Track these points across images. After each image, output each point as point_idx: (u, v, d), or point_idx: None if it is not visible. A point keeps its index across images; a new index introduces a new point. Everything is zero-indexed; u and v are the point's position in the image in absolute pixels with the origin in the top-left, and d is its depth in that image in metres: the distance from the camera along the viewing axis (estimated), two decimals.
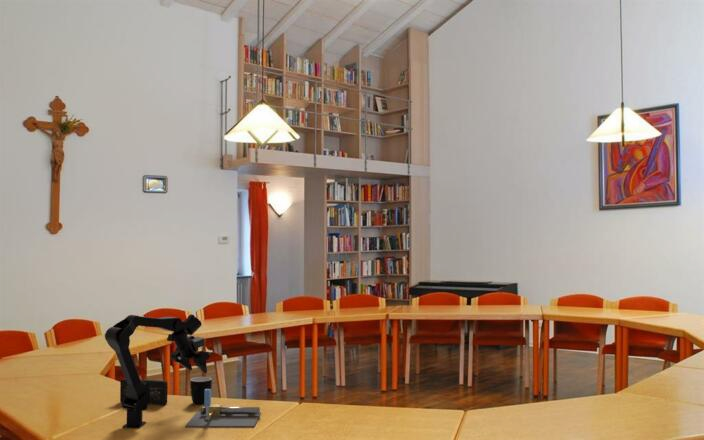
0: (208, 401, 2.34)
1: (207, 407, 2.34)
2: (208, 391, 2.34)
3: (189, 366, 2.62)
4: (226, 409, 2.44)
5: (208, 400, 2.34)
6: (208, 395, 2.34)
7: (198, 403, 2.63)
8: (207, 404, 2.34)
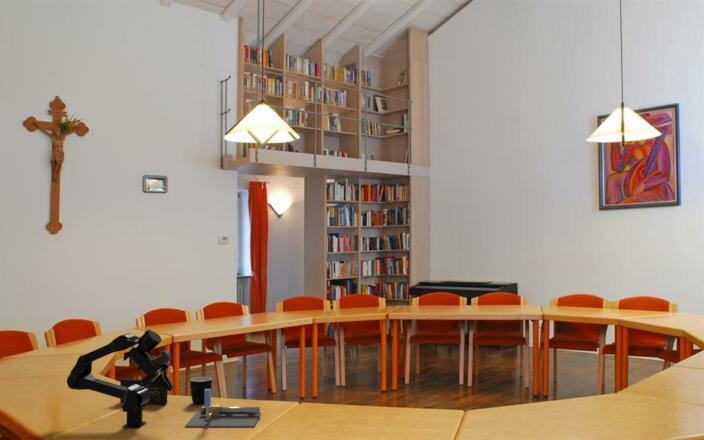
0: (208, 401, 2.34)
1: (207, 407, 2.34)
2: (208, 391, 2.34)
3: None
4: (226, 409, 2.44)
5: (208, 400, 2.34)
6: (208, 395, 2.34)
7: (198, 403, 2.63)
8: (207, 404, 2.34)
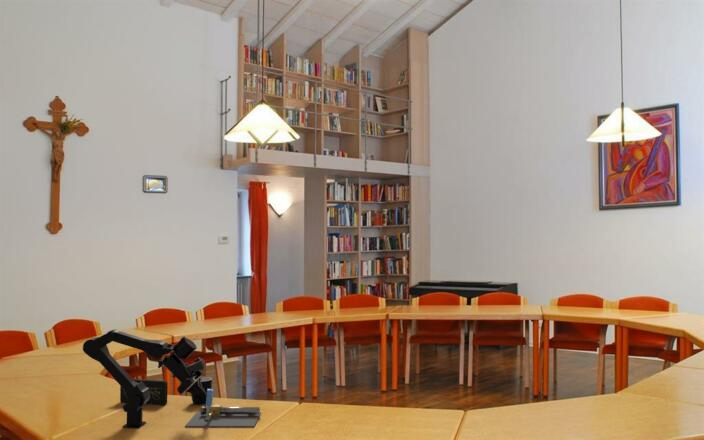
0: (210, 401, 2.34)
1: (208, 407, 2.34)
2: (211, 391, 2.34)
3: None
4: (226, 409, 2.44)
5: (210, 400, 2.34)
6: (210, 395, 2.34)
7: (198, 403, 2.63)
8: (208, 404, 2.34)
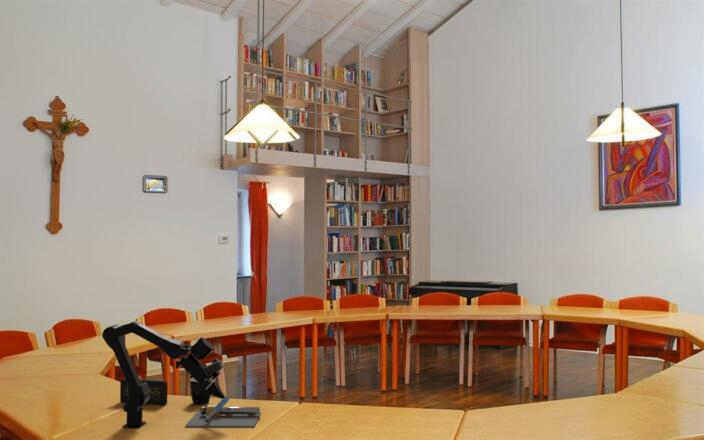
0: (220, 407, 2.34)
1: (215, 410, 2.34)
2: (227, 400, 2.34)
3: None
4: (226, 409, 2.44)
5: (221, 406, 2.34)
6: (224, 403, 2.34)
7: (198, 403, 2.63)
8: (217, 408, 2.34)
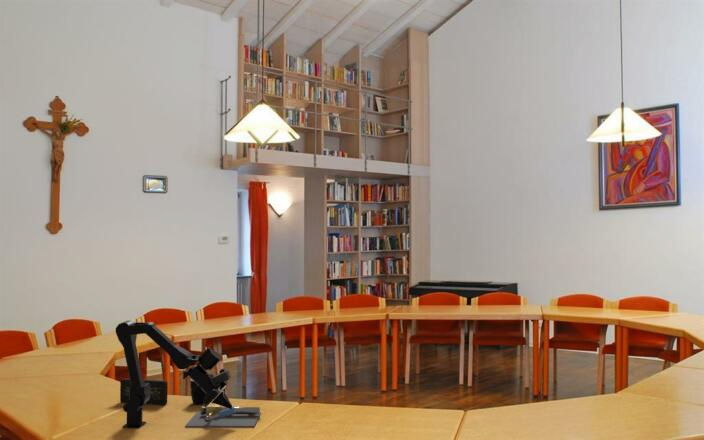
0: (224, 415, 2.33)
1: (218, 415, 2.34)
2: (233, 411, 2.34)
3: None
4: None
5: (225, 414, 2.33)
6: (230, 413, 2.33)
7: (198, 403, 2.63)
8: (221, 415, 2.33)
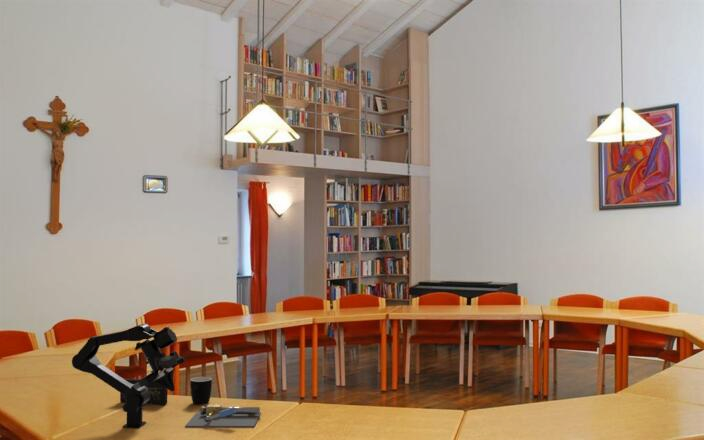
0: (224, 415, 2.33)
1: (218, 415, 2.34)
2: (233, 411, 2.34)
3: None
4: None
5: (225, 414, 2.33)
6: (230, 413, 2.33)
7: (198, 403, 2.63)
8: (221, 415, 2.33)
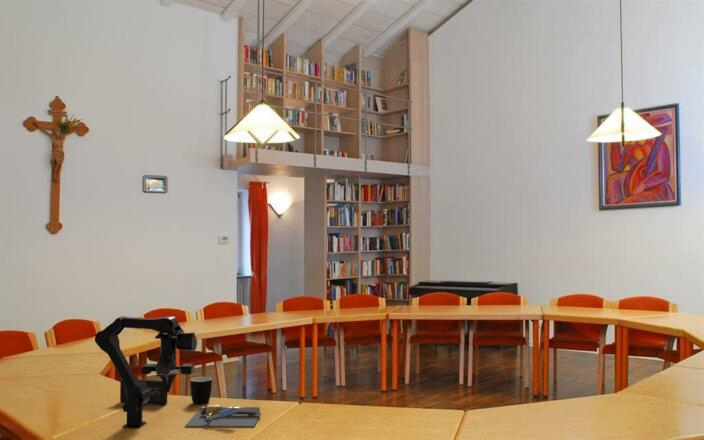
0: (224, 415, 2.33)
1: (218, 415, 2.34)
2: (233, 411, 2.34)
3: None
4: None
5: (225, 414, 2.33)
6: (230, 413, 2.33)
7: (198, 403, 2.63)
8: (221, 415, 2.33)
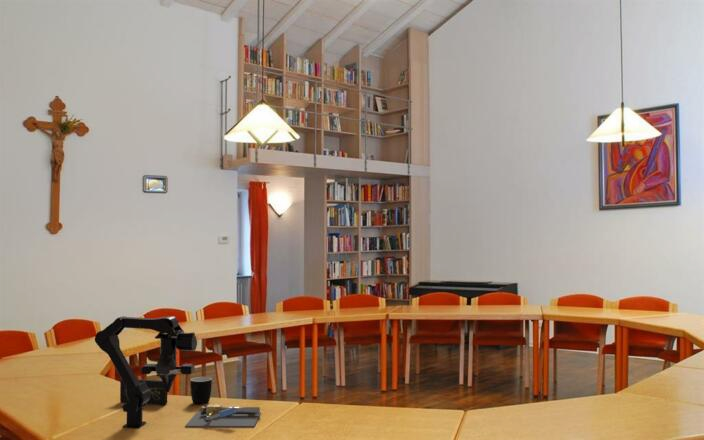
0: (224, 415, 2.33)
1: (218, 415, 2.34)
2: (233, 411, 2.34)
3: None
4: None
5: (225, 414, 2.33)
6: (230, 413, 2.33)
7: (198, 403, 2.63)
8: (221, 415, 2.33)
